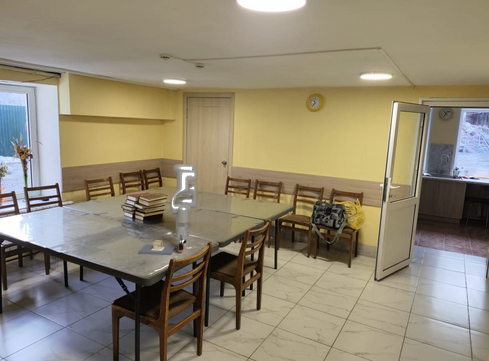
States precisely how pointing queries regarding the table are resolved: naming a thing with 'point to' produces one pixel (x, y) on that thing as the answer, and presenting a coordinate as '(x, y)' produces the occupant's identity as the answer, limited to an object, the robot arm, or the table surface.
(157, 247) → the maple cube
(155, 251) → the slate baseplate
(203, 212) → the table surface
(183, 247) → the terracotta cube
